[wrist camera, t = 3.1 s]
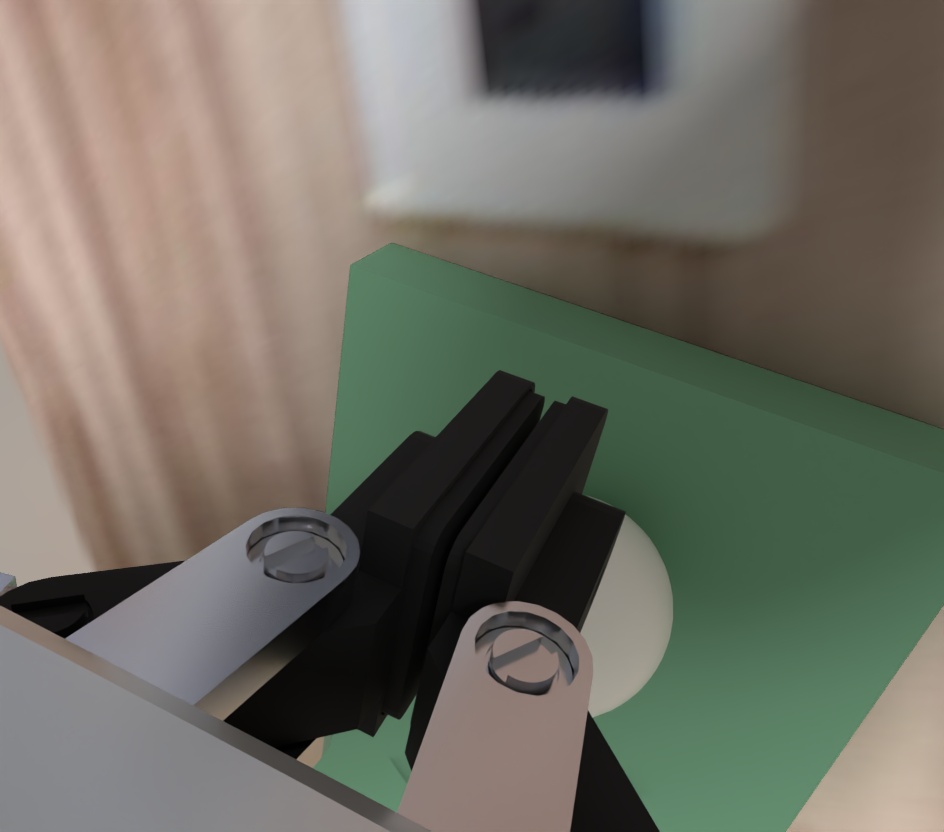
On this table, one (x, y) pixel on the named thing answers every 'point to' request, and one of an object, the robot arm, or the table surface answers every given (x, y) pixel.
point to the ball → (628, 620)
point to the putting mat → (676, 529)
